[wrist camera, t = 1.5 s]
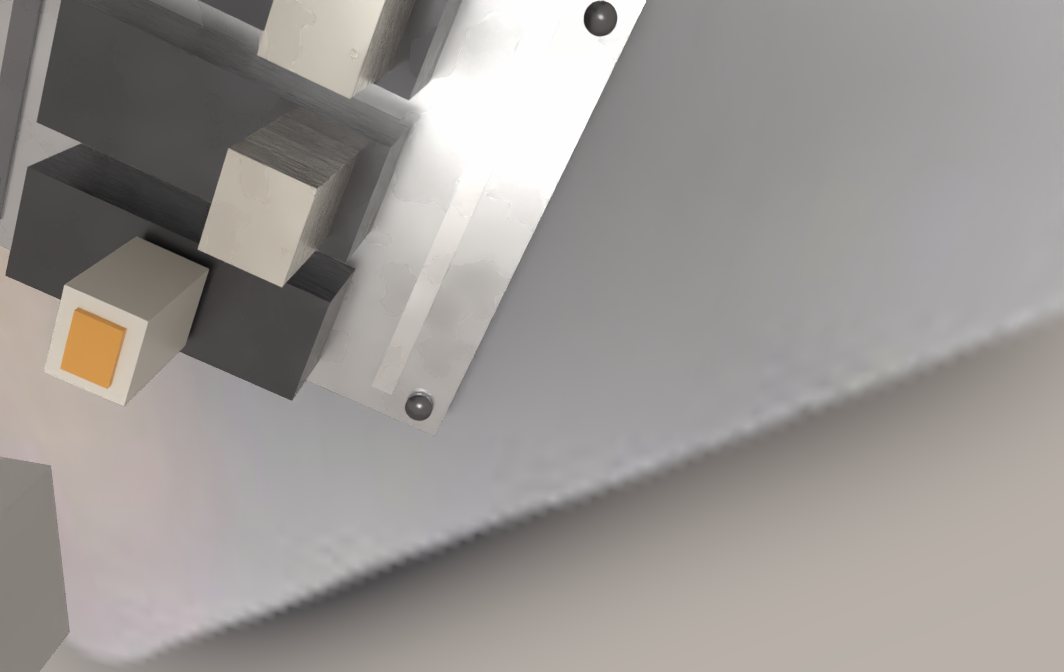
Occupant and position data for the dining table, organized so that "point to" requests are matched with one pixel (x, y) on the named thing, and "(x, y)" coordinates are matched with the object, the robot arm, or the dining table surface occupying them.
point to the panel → (303, 168)
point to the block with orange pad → (124, 319)
